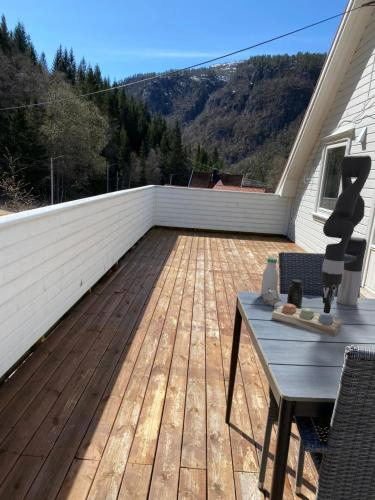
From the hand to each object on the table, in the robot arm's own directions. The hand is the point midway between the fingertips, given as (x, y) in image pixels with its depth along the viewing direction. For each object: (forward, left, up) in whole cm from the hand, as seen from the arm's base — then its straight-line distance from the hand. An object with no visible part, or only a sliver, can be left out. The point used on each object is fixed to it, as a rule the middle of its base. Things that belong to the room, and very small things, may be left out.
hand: (326, 312), depth 135 cm
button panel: (0, -7, -6) cm, 10 cm away
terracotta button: (0, -15, -4) cm, 16 cm away
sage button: (0, -8, -4) cm, 9 cm away
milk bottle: (-21, -33, -7) cm, 40 cm away
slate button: (0, 0, -4) cm, 4 cm away
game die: (-9, -27, -7) cm, 29 cm away
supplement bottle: (-19, -19, -7) cm, 28 cm away
